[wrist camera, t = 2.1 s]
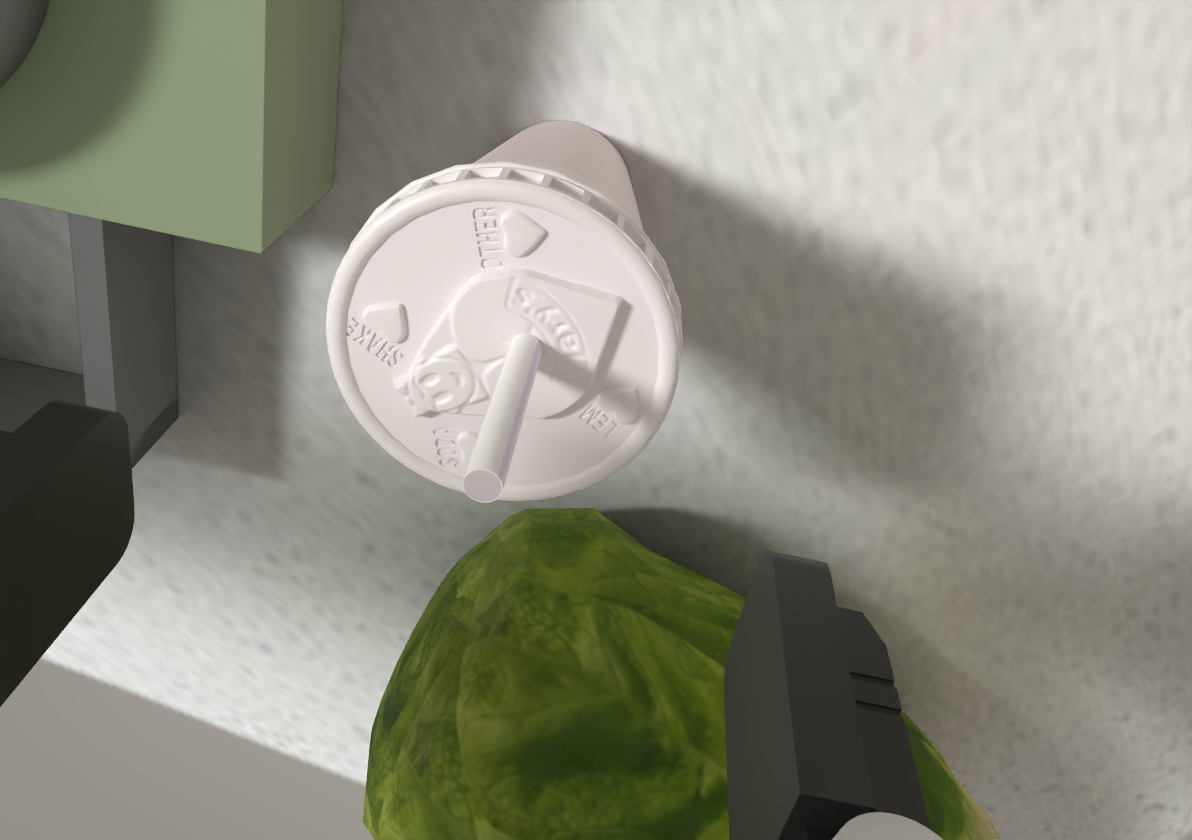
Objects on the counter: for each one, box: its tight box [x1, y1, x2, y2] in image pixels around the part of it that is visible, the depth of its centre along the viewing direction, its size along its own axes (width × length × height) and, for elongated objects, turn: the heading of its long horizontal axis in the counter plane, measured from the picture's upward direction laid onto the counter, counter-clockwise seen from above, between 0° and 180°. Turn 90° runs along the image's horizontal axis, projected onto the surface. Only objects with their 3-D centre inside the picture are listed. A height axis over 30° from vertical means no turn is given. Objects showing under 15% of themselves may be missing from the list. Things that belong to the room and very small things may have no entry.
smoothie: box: [326, 120, 683, 503], centre depth 19 cm, size 6×6×14 cm
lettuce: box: [363, 508, 1001, 840], centre depth 28 cm, size 12×21×11 cm, turn 59°
